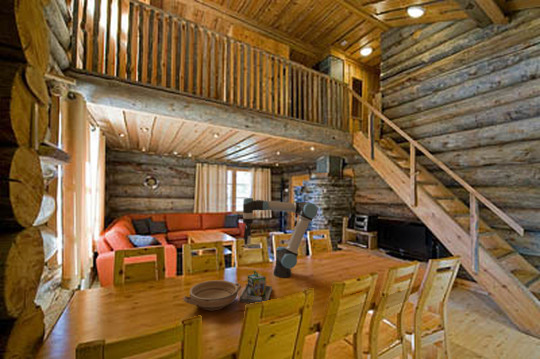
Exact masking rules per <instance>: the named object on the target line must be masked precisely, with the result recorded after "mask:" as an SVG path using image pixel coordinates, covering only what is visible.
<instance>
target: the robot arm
mask: <svg viewBox="0 0 540 359" xmlns="http://www.w3.org/2000/svg"><path fill="white" fill-rule="evenodd" d="M242 208H243V209H242V210H243V211H242V218H243V219H242V223H243V224H244V234H243V249H249V245H252V244H251V243H252V240H251V239H252V235H253V234H252V230H251V229H252V224H253V222H254V219H253V217H254V211H277V212H285V213H286V212H289V213H293V214H297V216H298V220H297V221H296V224H295V227H294V229H293V232H292V234H291V237H290V238H289V241H288V243H287V246H277V247H276V249H275V266H274V269H273V276H275V277H277V278H285V279H286V278H290V277H291V276H292V269H293V268H294V267H295V266H296V265H297V263H298V258H297V257H298V254H299V251H298V250H299V247H300V244H301V243H302V240H303V238H304V235H305V233H306V231H307V228H308V226H309V223H311V222H312V221H313V220H314V218H315V217H316V216H317V215H318V208H317V205H316V204H314V203H313V202H307V201H302V202H301V201H300V202H299V201H298V202H297V201H293V202H286V201H285V202H283V201H273V200H270V201H269V200H262V199H256V200H254V198H253V197H244V198H243V205H242Z"/></svg>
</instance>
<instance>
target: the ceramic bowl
mask: <svg viewBox="0 0 540 359" xmlns="http://www.w3.org/2000/svg"><path fill="white" fill-rule="evenodd" d="M241 289H242V284H240V282H236V283H233V282H232V281H228V280H222V279H221V280H220V279H218V280H217V279H216V280H215V279H213V280H205V281H202V282H200V283H197V284H194V285H193V286H192V287H191V288H190V289H189V296H186V295H185V296H183V297H182V300H183V302H184V303H187V304H190V305H195V306H197V307H199V308H202V309H204V310H206V311H211V312H212V311H219V310H222V309H224V308H225V307H227V306H228V305H230V304H232V303H233V302H234V301H235V300H236V298H237V297H238V296H237V295H238V293H239V291H240V290H241Z"/></svg>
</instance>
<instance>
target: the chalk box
mask: <svg viewBox="0 0 540 359" xmlns="http://www.w3.org/2000/svg"><path fill="white" fill-rule="evenodd" d="M266 280H267V279H266V276H265V275H263V274H261V273H258V271H256V270H253V274H248V275H247V284H248V289H247V293H249V294H250V295H251V296H261V295H265V283H266V282H267V281H266Z"/></svg>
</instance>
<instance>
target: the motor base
mask: <svg viewBox="0 0 540 359" xmlns="http://www.w3.org/2000/svg"><path fill="white" fill-rule="evenodd" d="M247 289H248V283H246V285H245V286H244V288H243V289H242V292H241V293H240V295H239V300H238V301H239V303H246V304H247V303H249V304H255V303H254V302H262V301H267V300H269V301H270V298H271V296H272V295H271V294H272V291H273V286H272V285H267V281H266V283H265V295H261V296H251V295H250V294H249V293H247ZM250 302H251V303H250Z"/></svg>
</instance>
